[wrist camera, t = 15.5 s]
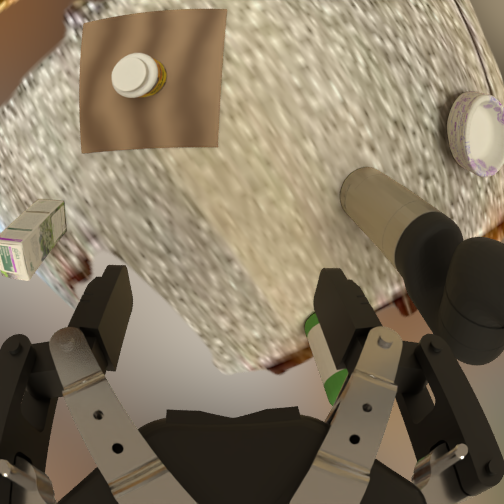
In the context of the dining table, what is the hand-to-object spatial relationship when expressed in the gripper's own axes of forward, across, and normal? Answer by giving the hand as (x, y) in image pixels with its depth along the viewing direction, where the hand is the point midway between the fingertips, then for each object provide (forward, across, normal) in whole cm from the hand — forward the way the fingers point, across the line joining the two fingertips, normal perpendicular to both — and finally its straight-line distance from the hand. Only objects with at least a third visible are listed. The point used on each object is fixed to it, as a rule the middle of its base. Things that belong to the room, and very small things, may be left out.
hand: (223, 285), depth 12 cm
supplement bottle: (+30, +10, -9) cm, 33 cm away
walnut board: (+31, +10, -10) cm, 34 cm away
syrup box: (+31, +28, +11) cm, 43 cm away
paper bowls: (+33, -44, -10) cm, 55 cm away
